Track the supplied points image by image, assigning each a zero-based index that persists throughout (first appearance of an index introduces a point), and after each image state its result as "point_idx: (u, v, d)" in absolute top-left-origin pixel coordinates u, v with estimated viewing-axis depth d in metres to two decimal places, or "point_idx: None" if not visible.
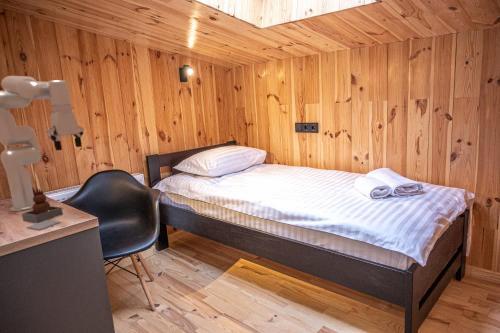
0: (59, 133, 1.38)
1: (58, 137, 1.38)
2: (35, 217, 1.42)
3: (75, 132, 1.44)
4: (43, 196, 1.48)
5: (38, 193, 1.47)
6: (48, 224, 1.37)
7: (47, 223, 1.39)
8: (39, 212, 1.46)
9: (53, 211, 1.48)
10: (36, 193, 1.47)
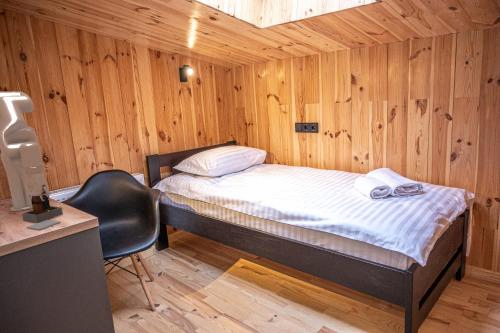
0: None
1: None
2: (35, 217, 1.42)
3: None
4: (43, 196, 1.48)
5: None
6: (48, 224, 1.37)
7: (47, 223, 1.39)
8: (39, 212, 1.46)
9: (53, 211, 1.48)
10: None
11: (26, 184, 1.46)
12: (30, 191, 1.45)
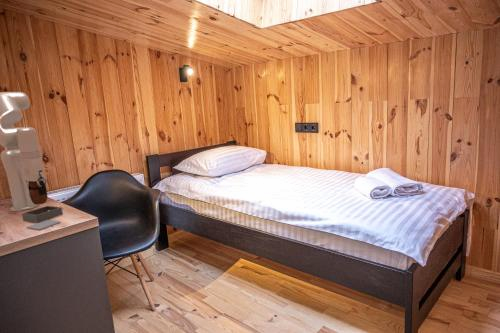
0: None
1: None
2: (35, 217, 1.42)
3: None
4: (40, 182, 1.47)
5: None
6: (48, 224, 1.37)
7: (47, 223, 1.39)
8: (36, 198, 1.46)
9: (53, 211, 1.48)
10: None
11: (23, 169, 1.45)
12: (27, 176, 1.44)
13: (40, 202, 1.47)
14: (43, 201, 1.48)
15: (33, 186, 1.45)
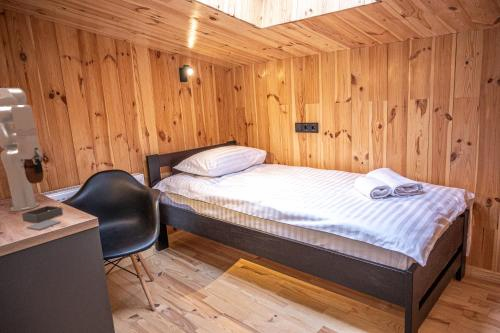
0: None
1: None
2: (35, 217, 1.42)
3: None
4: None
5: None
6: (48, 224, 1.37)
7: (47, 223, 1.39)
8: (32, 176, 1.43)
9: (53, 211, 1.48)
10: None
11: (18, 147, 1.43)
12: (22, 154, 1.42)
13: (36, 181, 1.45)
14: (39, 180, 1.45)
15: (29, 164, 1.43)
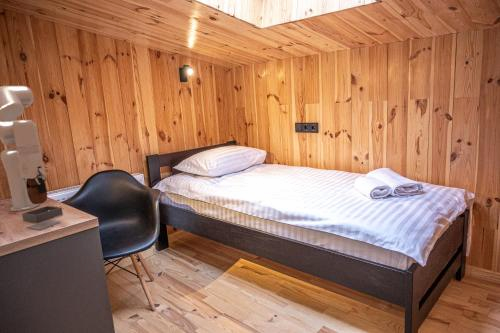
0: None
1: None
2: (35, 217, 1.42)
3: None
4: (39, 179, 1.34)
5: None
6: (48, 224, 1.37)
7: (47, 223, 1.39)
8: (34, 196, 1.33)
9: (53, 211, 1.48)
10: None
11: (20, 166, 1.32)
12: (24, 173, 1.32)
13: (39, 201, 1.34)
14: (42, 200, 1.35)
15: (31, 184, 1.33)
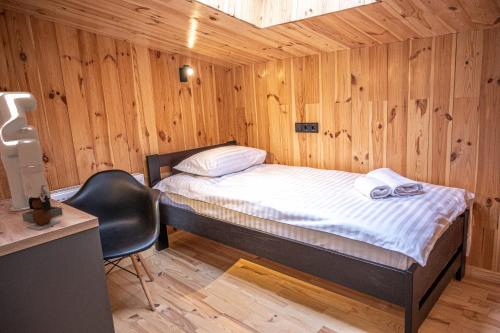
0: None
1: None
2: None
3: None
4: None
5: (38, 198, 1.36)
6: (48, 224, 1.37)
7: None
8: (39, 218, 1.35)
9: (53, 211, 1.48)
10: (35, 198, 1.35)
11: (24, 185, 1.34)
12: (28, 192, 1.33)
13: (43, 223, 1.36)
14: (47, 222, 1.37)
15: (36, 206, 1.34)
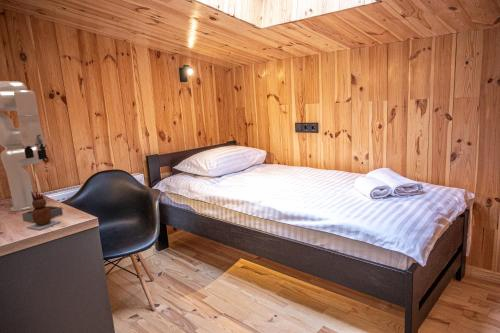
0: None
1: None
2: None
3: None
4: (43, 201, 1.36)
5: (38, 198, 1.36)
6: (48, 224, 1.37)
7: None
8: (39, 218, 1.35)
9: (53, 211, 1.48)
10: (36, 198, 1.35)
11: (21, 134, 1.40)
12: (25, 141, 1.39)
13: (43, 223, 1.36)
14: (47, 222, 1.37)
15: (36, 206, 1.35)
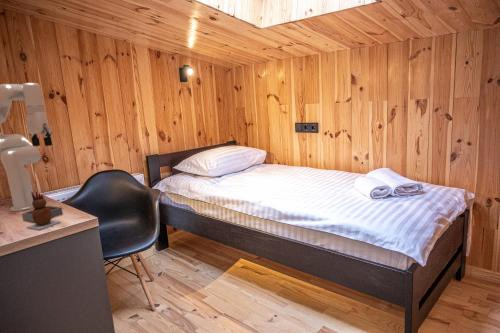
0: None
1: None
2: None
3: None
4: (43, 201, 1.36)
5: (38, 198, 1.36)
6: (48, 224, 1.37)
7: None
8: (39, 218, 1.35)
9: (53, 211, 1.48)
10: (36, 198, 1.35)
11: (28, 123, 1.53)
12: (32, 129, 1.52)
13: (43, 223, 1.36)
14: (47, 222, 1.37)
15: (36, 206, 1.35)
